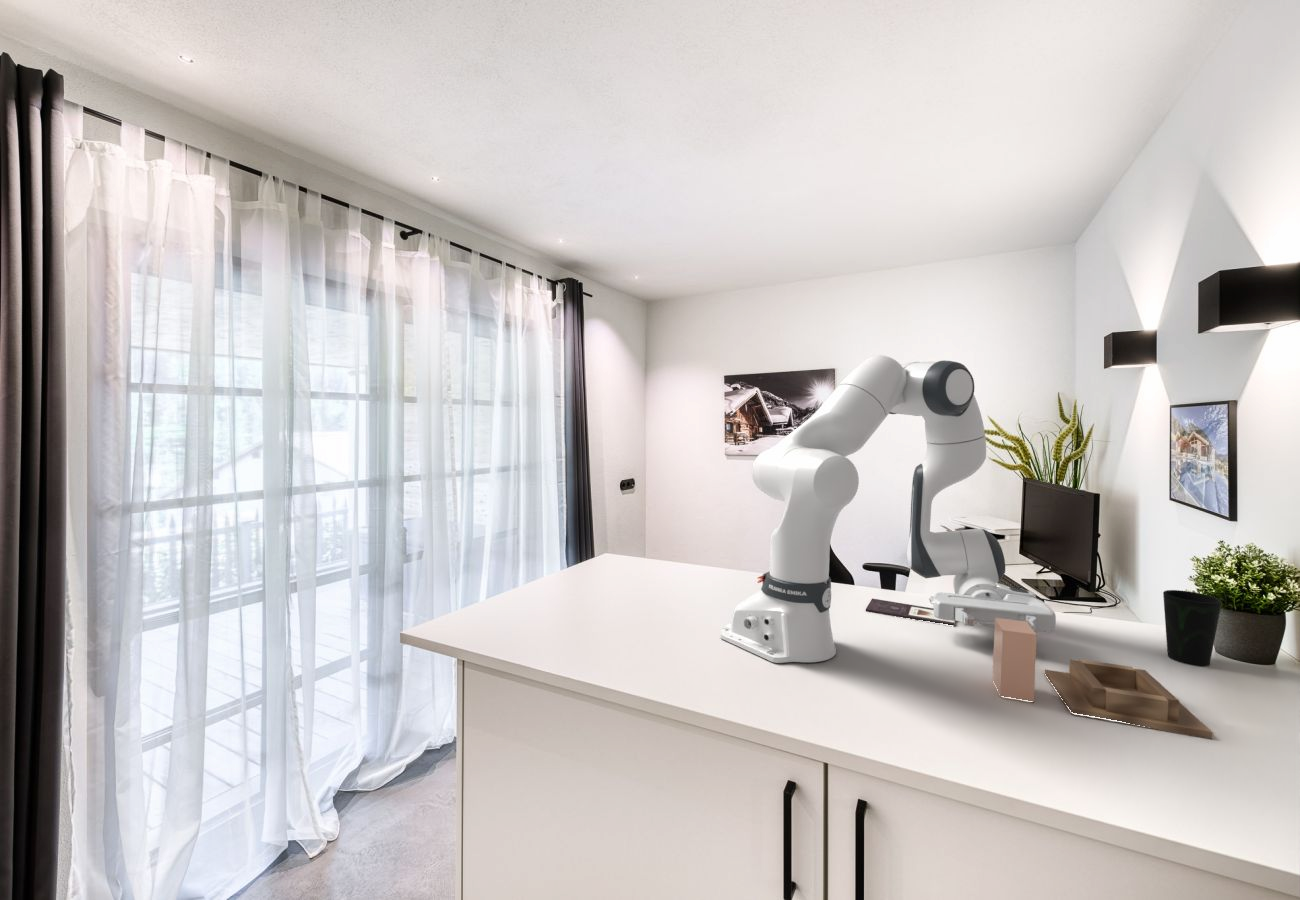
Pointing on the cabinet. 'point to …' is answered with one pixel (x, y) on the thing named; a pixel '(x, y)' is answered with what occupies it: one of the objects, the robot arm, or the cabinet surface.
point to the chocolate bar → (905, 611)
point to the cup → (1190, 626)
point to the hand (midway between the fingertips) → (998, 625)
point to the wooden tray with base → (1124, 697)
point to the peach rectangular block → (1014, 659)
